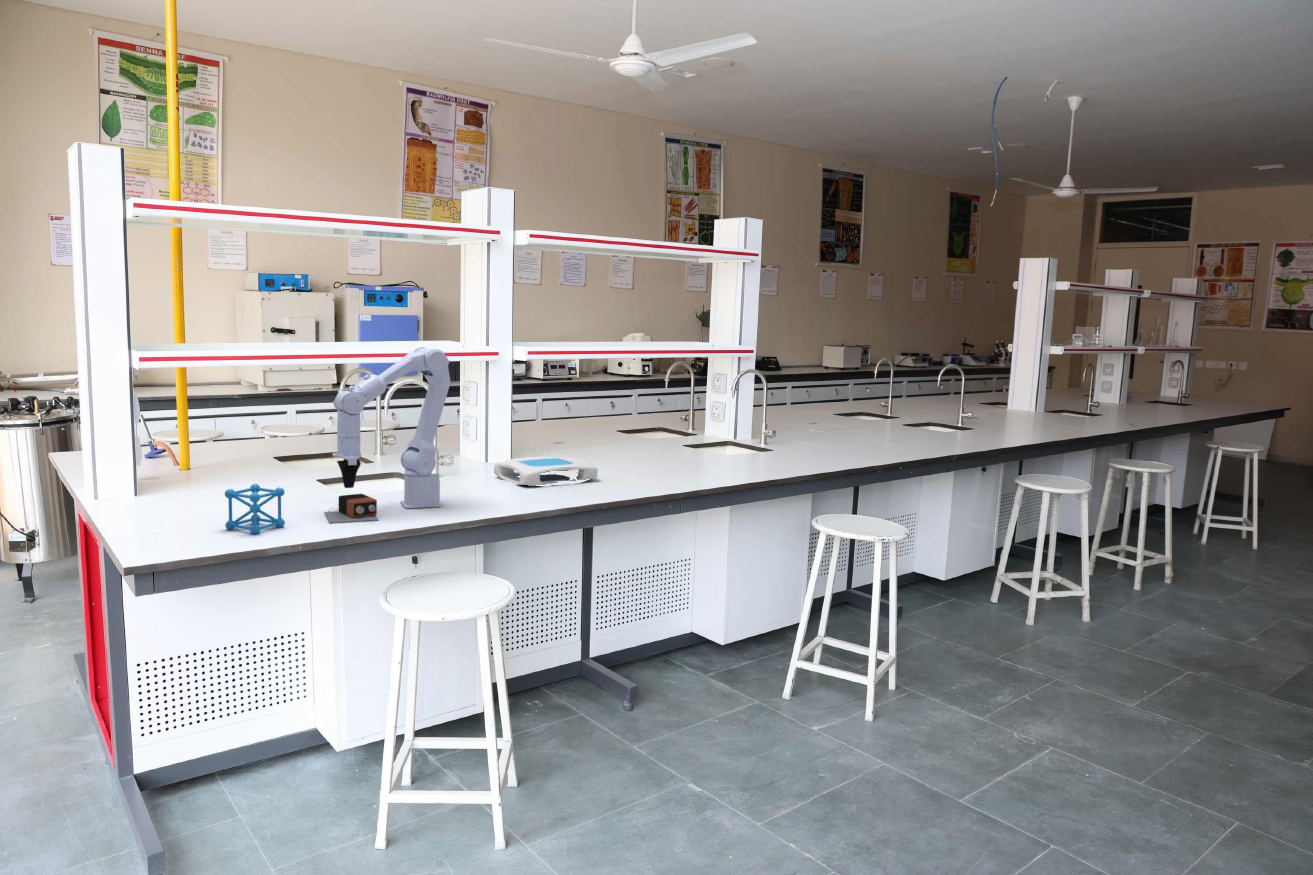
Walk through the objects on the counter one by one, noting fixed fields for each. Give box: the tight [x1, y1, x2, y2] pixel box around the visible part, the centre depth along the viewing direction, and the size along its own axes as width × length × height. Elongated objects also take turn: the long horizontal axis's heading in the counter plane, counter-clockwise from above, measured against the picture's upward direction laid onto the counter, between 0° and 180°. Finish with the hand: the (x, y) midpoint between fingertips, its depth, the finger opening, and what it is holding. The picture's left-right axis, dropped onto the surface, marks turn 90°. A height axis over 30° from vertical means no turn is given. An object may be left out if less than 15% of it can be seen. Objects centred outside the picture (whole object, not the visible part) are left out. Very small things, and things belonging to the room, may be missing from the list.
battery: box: [338, 493, 378, 518], centre depth 231 cm, size 4×7×10 cm
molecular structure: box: [224, 483, 286, 535], centre depth 213 cm, size 10×10×10 cm
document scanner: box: [493, 455, 599, 487], centre depth 293 cm, size 21×28×6 cm
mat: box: [323, 510, 379, 524], centre depth 229 cm, size 12×12×1 cm
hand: (348, 487), depth 232 cm, fingers closed
